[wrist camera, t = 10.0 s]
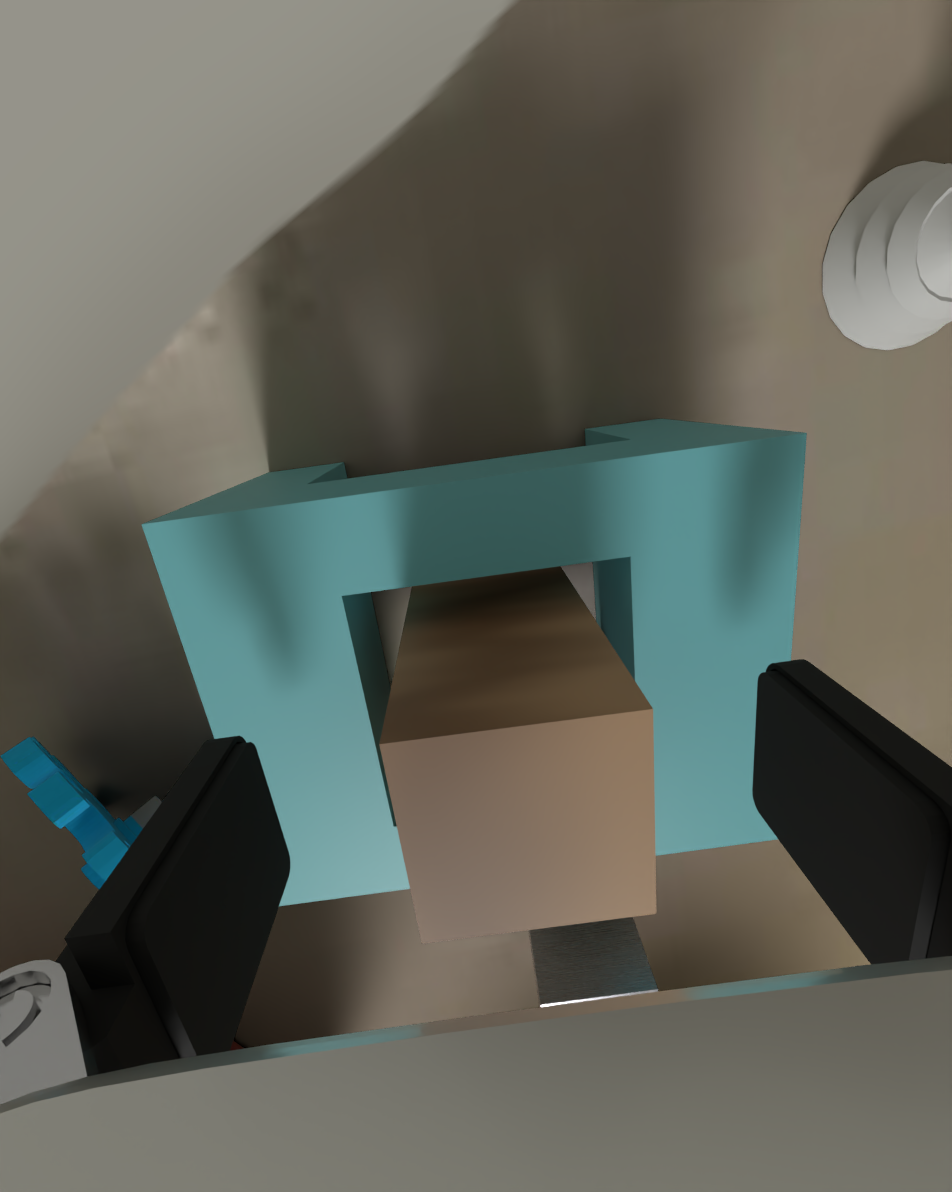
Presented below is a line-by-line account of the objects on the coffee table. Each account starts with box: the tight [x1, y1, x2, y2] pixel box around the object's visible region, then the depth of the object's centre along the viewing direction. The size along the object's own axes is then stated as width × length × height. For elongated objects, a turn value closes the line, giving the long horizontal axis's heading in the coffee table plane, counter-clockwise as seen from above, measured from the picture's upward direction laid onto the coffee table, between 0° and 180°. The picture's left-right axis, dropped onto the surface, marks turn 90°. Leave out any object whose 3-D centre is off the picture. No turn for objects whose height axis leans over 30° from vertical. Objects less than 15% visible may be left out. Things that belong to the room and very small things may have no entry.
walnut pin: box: [379, 566, 656, 944], centre depth 14 cm, size 4×4×12 cm
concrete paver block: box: [529, 917, 658, 1007], centre depth 22 cm, size 4×4×6 cm
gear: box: [1, 737, 162, 889], centre depth 20 cm, size 11×6×10 cm
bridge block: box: [142, 419, 807, 906], centre depth 16 cm, size 13×10×8 cm
